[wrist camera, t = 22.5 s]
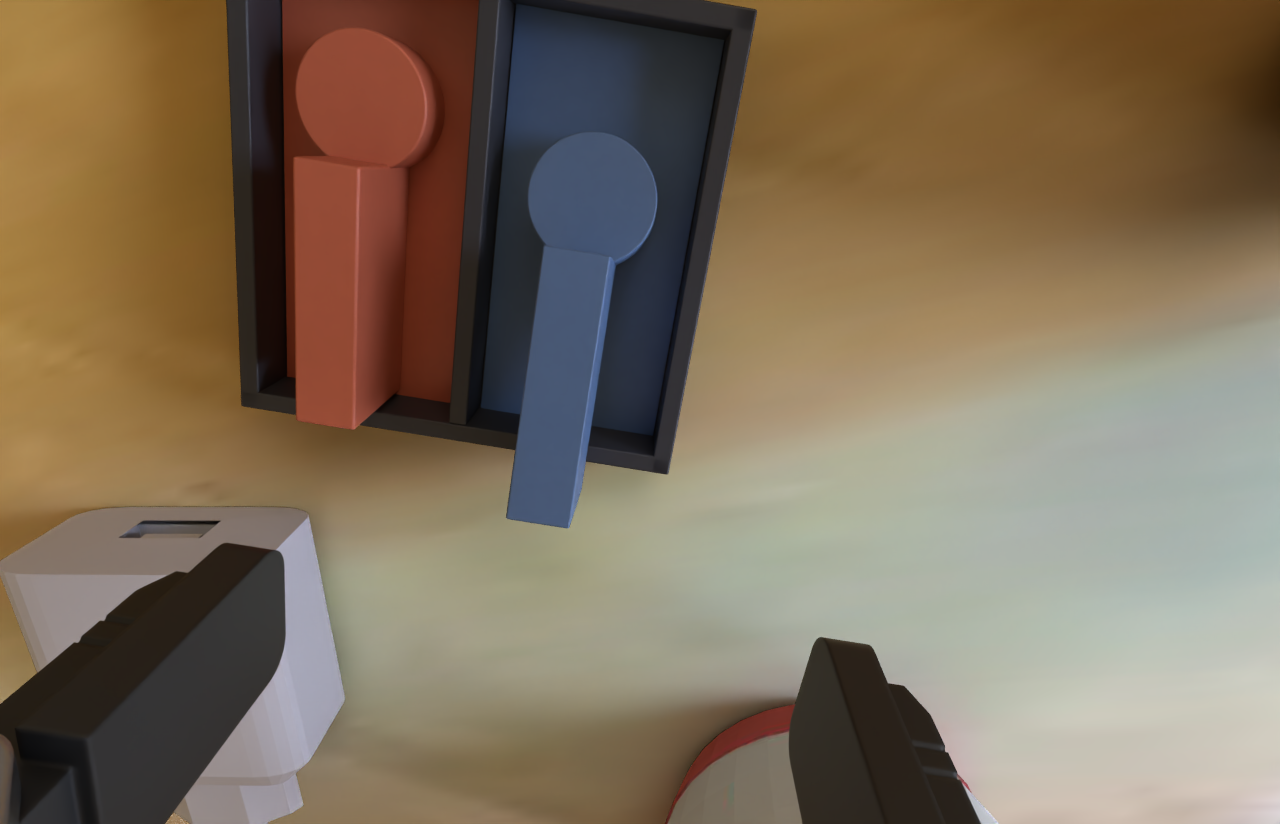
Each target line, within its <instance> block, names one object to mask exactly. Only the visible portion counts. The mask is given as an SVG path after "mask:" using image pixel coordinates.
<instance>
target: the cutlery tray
mask: <svg viewBox="0 0 1280 824" xmlns="http://www.w3.org/2000/svg"><path fill="white" fill-rule="evenodd" d="M226 6H227V33H228V59H229V86H230V112H231V138H232V165H233V191H234V218H235V244H236V271H237V297H238V324H239V350H240V376H241V405H242V406H244V407H251V408H257V409H263V410H269V411H276V412H282V413H288V414H294V415H296V377H295V288H294V199H293V158H294V157H296V156H327V155H326V154H325V153H323V152H322V151H321V150H320V149H319V148H318V147H317V145H316V144H315V143H314V142H313V140H312V139H311V138H310V136H309V135H308V133H307V131H306V129H305V128H304V126H303V123H302V121H301V119H300V115H299V112H298V109H297V103H296V95H295V85H296V77H297V72H298V69H299V65H300V63H301V61H302V59H303V56H304V55H305V53H306V52H307V50H308V49H309V48H310V47H311V45H312V44H313V43H314V42H315V41H316V40H318V39H319V38H320V37H321V36H323V35H325V34H327V33H328V32H331V31H334V30H336V29H340V28H345V27H359V28H366V29H370V30H373V31H376V32H378V33H381V34H383V35H385V36H388V37H390V38H393V39H395V40H397V41H400V42H402V43H404V44H406V45H407V46H409V47H411V48H412V49H413V50H415V51H416V52H417V53H418V54H419V55H420V56H421V57H422V58H423V59H424V60H425V61H426V62H427V63H428V65H429V66H430V67H431V69H432V70H433V72H434V74H435V76H436V78H437V80H438V82H439V85H440V87H441V90H442V94H443V98H444V107H445V117H444V125H443V129H442V133H441V135H440V138H439V140H438V142H437V144H436V146H435V147H434V149H433V150H432V151H431V152H430V154H429V155H428V156H427V157H426V158H425V159H423V160H422V161H420V162H419V163H417V164H416V165H414V166H412V167H409V168H410V171H409V195H408V218H407V241H406V264H405V288H404V311H403V334H402V357H401V381H400V389H399V390H398V391H397V392H396V393H395V394H394V395H393V396H392V397H390V398H389V399H388V400H387V401H386V402H385V403H384V404H382V405H381V406H380V407H379V408H378V409H377V410H376V411H375V412H373V413H372V414H371V415H370V416H369V417H368V418H367V419H366V420H364V421H363V422H362V423H361V424H360V425H363V426H369V427H375V428H381V429H387V430H394V431H400V432H406V433H412V434H419V435H425V436H431V437H437V438H443V439H450V440H456V441H462V442H468V443H475V444H481V445H487V446H493V447H499V448H506V449H512V450H515V449H516V442H517V434H518V427H519V420H520V412H521V405H522V398H523V390H524V383H525V376H526V369H527V361H528V354H529V347H530V339H531V332H532V325H533V318H534V310H535V303H536V296H537V288H538V281H539V274H540V267H541V259H542V252H543V246H544V245H545V244H544V243H543V242H542V241H541V239H540V238H539V236H538V235H537V233H536V232H535V229H534V227H533V225H532V223H531V220H530V217H529V212H528V207H527V189H528V184H529V179H530V176H531V173H532V171H533V169H534V167H535V165H536V163H537V162H538V160H539V158H540V157H541V156H542V155H543V153H544V152H545V151H546V150H547V149H548V148H549V147H550V146H552V145H553V144H554V143H556V142H557V141H559V140H560V139H562V138H564V137H566V136H569V135H572V134H575V133H579V132H585V131H597V132H604V133H608V134H612V135H614V136H617V137H619V138H621V139H623V140H625V141H626V142H628V143H629V144H630V145H632V146H633V147H634V148H635V149H636V150H637V151H638V152H639V153H640V154H641V155H642V156H643V158H644V159H645V160H646V162H647V164H648V165H649V167H650V169H651V171H652V174H653V176H654V180H655V183H656V189H657V211H656V217H655V222H654V226H653V228H652V231H651V233H650V235H649V237H648V239H647V241H646V242H645V243H644V245H643V246H642V247H641V248H640V250H639V251H638V252H637V253H635V254H634V255H633V256H632V257H631V258H629V259H627V260H626V261H624V262H622V263H620V264H618V265H616V268H615V275H614V281H613V288H612V294H611V301H610V307H609V314H608V320H607V327H606V333H605V340H604V346H603V353H602V359H601V366H600V372H599V379H598V385H597V391H596V398H595V404H594V411H593V417H592V424H591V430H590V437H589V443H588V450H587V456H586V462H593V463H599V464H605V465H611V466H618V467H624V468H630V469H636V470H642V471H649V472H654V473H661V474H668V472H669V467H670V462H671V457H672V452H673V446H674V441H675V436H676V431H677V426H678V420H679V415H680V410H681V405H682V400H683V394H684V389H685V384H686V379H687V374H688V368H689V363H690V358H691V353H692V348H693V342H694V337H695V332H696V327H697V322H698V316H699V311H700V306H701V301H702V296H703V290H704V285H705V280H706V275H707V270H708V264H709V259H710V254H711V249H712V244H713V238H714V233H715V228H716V223H717V218H718V212H719V207H720V202H721V197H722V192H723V186H724V181H725V176H726V171H727V166H728V160H729V155H730V150H731V145H732V140H733V134H734V129H735V124H736V119H737V114H738V108H739V103H740V98H741V93H742V88H743V82H744V77H745V72H746V67H747V62H748V56H749V51H750V46H751V41H752V36H753V30H754V25H755V20H756V15H757V10H756V9H751V8H745V7H740V6H733V5H728V4H722V3H716V2H711V1H705V0H226Z"/></svg>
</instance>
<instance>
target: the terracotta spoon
mask: <svg viewBox="0 0 1280 824" xmlns="http://www.w3.org/2000/svg"><path fill="white" fill-rule="evenodd" d="M295 95H296V103H297V109H298V112H299V115H300V119H301V121H302V123H303V126H304V128H305V129H306V131H307V133H308V135H309V136H310V138H311V139H312V140H313V142H314V143H315V144H316V145H317V147H318V148H319V149H320V150H321V151H322V152H323V153H325V154H326V155H327V156H296V157H294V158H293V199H294V288H295V377H296V420H297V421H301V422H307V423H313V424H320V425H326V426H332V427H339V428H345V429H351V430H353V429H355V428H357V427H358V426H359V425H360V424H361V423H362V422H363V421H364V420H366V419H367V418H368V417H369V416H370V415H371V414H372V413H373V412H375V411H376V410H377V409H378V408H379V407H380V406H381V405H382V404H384V403H385V402H386V401H387V400H388V399H389V398H390V397H392V396H393V395H394V394H395V393H396V392H397V391H398V390H399V389H400V381H401V357H402V334H403V311H404V288H405V264H406V241H407V218H408V195H409V171H410V168H409V167H412V166H414V165H416V164H417V163H419V162H420V161H422V160H423V159H425V158H426V157H427V156H428V155H429V154H430V152H431V151H432V150H433V149H434V147H435V146H436V144H437V142H438V140H439V138H440V135H441V133H442V129H443V125H444V117H445V107H444V98H443V94H442V90H441V87H440V85H439V82H438V80H437V78H436V76H435V74H434V72H433V70H432V69H431V67H430V66H429V65H428V63H427V62H426V61H425V60H424V59H423V58H422V57H421V56H420V55H419V54H418V53H417V52H416V51H415V50H413V49H412V48H411V47H409V46H407V45H406V44H404V43H402V42H400V41H397V40H395V39H393V38H390V37H388V36H385V35H383V34H381V33H378V32H376V31H373V30H370V29H366V28H359V27H345V28H340V29H336V30H334V31H331V32H328V33H327V34H325V35H323V36H321V37H320V38H319V39H318V40H316V41H315V42H314V43H313V44H312V45H311V47H310V48H309V49H308V50H307V52H306V53H305V55H304V56H303V59H302V61H301V63H300V65H299V69H298V72H297V77H296V85H295Z"/></svg>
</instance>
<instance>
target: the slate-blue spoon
mask: <svg viewBox="0 0 1280 824" xmlns="http://www.w3.org/2000/svg"><path fill="white" fill-rule="evenodd" d="M527 207H528V212H529V217H530V220H531V223H532V225H533V227H534V229H535V232H536V233H537V235H538V236H539V238H540V239H541V241H542V242H543V243H544V244H545V245H544V246H543V252H542V259H541V267H540V274H539V281H538V288H537V296H536V303H535V310H534V318H533V325H532V332H531V339H530V347H529V354H528V361H527V369H526V376H525V383H524V390H523V398H522V405H521V412H520V420H519V427H518V434H517V442H516V449H515V456H514V463H513V471H512V478H511V485H510V493H509V500H508V507H507V514H506V518H507V519H511V520H517V521H524V522H530V523H537V524H543V525H549V526H556V527H562V528H569V527H570V524H571V521H572V518H573V514H574V511H575V508H576V505H577V502H578V499H579V495H580V492H581V489H582V482H583V476H584V469H585V463H586V456H587V450H588V443H589V437H590V430H591V424H592V417H593V411H594V404H595V398H596V391H597V385H598V379H599V372H600V366H601V359H602V353H603V346H604V340H605V333H606V327H607V320H608V314H609V307H610V301H611V294H612V288H613V281H614V275H615V268H616V265H618V264H620V263H622V262H624V261H626V260H627V259H629V258H631V257H632V256H633V255H634V254H635V253H637V252H638V251H639V250H640V248H641V247H642V246H643V245H644V243H645V242H646V241H647V239H648V237H649V235H650V233H651V231H652V228H653V226H654V222H655V217H656V211H657V189H656V183H655V180H654V176H653V174H652V171H651V169H650V167H649V165H648V164H647V162H646V160H645V159H644V158H643V156H642V155H641V154H640V153H639V152H638V151H637V150H636V149H635V148H634V147H633V146H632V145H630V144H629V143H628V142H626V141H625V140H623V139H621V138H619V137H617V136H614V135H612V134H608V133H604V132H597V131H585V132H579V133H575V134H572V135H569V136H566V137H564V138H562V139H560V140H559V141H557V142H556V143H554V144H553V145H552V146H550V147H549V148H548V149H547V150H546V151H545V152H544V153H543V155H542V156H541V157H540V158H539V160H538V162H537V163H536V165H535V167H534V169H533V171H532V173H531V176H530V179H529V184H528V189H527Z"/></svg>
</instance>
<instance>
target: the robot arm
mask: <svg viewBox="0 0 1280 824" xmlns="http://www.w3.org/2000/svg"><path fill="white" fill-rule="evenodd" d="M285 639H286V617H285V567H284V559H283V556H282V554H281V553H280V552H279V551H278V550H271V549H265V548H259V547H252V546H246V545H239V544H233V543H223V544H221V545H219V546H218V547H216V548H215V549H214V550H213V551H212V552H211V553H210V554H208V555H207V556H206V557H205V558H204V559H203V560H202V561H201V562H199V563H198V564H197V565H196V566H195V567H194V568H193V569H192V570H191V571H189V572H188V573H186V572H180V571H175V572H173V573H171V574H169V575H167V576H165V577H163V578H161V579H159V580H157V581H154V582H152V583H150V584H148V585H146V586H144V587H142V588H140V589H138V590H136V591H135V592H133V593H132V594H131V595H130V596H129V597H128V598H126V599H125V600H124V601H123V602H122V603H120V604H119V605H118V606H117V607H116V608H114V609H113V610H112V611H111V612H110V613H108V614H107V615H106V619H105V620H104V621H99V622H98V623H97V624H95V625H94V626H93V627H92V628H91V629H89V630H88V631H87V632H86V633H85V634H83V635H82V636H81V639H80V641H79V642H78V643H76V642H74V643H73V644H71V645H70V646H69V647H68V648H67V649H66V650H64V651H63V652H62V653H61V654H60V655H58V656H57V657H56V658H55V659H54V660H52V661H51V662H50V663H49V664H48V665H46V666H45V667H44V668H43V669H42V670H40V671H39V672H38V673H37V674H36V675H34V676H33V677H32V678H31V679H30V680H29V681H27V682H26V683H25V684H24V685H23V686H21V687H20V688H19V689H18V690H17V691H15V692H14V693H13V694H12V695H11V696H9V697H8V698H7V699H6V700H5V701H3V702H2V703H1V704H0V824H165V823H166V821H167V820H168V819H169V817H170V816H171V815H172V813H173V812H174V811H175V809H176V808H177V807H178V805H179V804H180V802H181V801H182V800H183V798H184V797H185V796H186V794H187V793H188V792H189V790H190V789H191V788H192V786H193V785H194V784H195V782H196V781H197V779H198V778H199V777H200V775H201V774H202V773H203V771H204V770H205V769H206V767H207V766H208V765H209V763H210V762H211V761H212V759H213V758H214V756H215V755H216V754H217V752H218V751H219V750H220V748H221V747H222V746H223V744H224V743H225V742H226V740H227V739H228V738H229V736H230V735H231V733H232V732H233V731H234V729H235V728H236V727H237V725H238V724H239V723H240V721H241V720H242V719H243V717H244V716H245V715H246V713H247V712H248V710H249V709H250V708H251V706H252V705H253V704H254V702H255V701H256V700H257V698H258V697H259V696H260V694H261V693H262V692H263V690H264V689H265V687H266V686H267V685H268V683H269V682H270V681H271V679H272V678H273V676H274V674H275V672H276V670H277V668H278V666H279V663H280V661H281V658H282V654H283V651H284V646H285ZM789 759H790V765H791V770H792V774H793V779H794V784H795V789H796V794H797V799H798V804H799V809H800V814H801V819H802V824H981V822H980V820H979V818H978V816H977V814H976V812H975V810H974V807H973V805H972V803H971V801H970V799H969V797H968V794H967V792H966V790H965V788H964V786H963V784H962V782H961V780H959V779H957V771H956V769H955V767H954V764H953V762H952V760H951V758H950V756H949V754H948V753H947V752H945V745H944V743H943V741H942V739H941V737H940V734H939V732H938V730H937V728H936V726H935V724H934V722H933V719H932V717H931V715H930V714H929V713H928V712H927V711H926V709H925V708H924V707H923V706H922V705H921V704H920V703H919V702H918V701H917V700H916V699H915V697H914V696H913V695H912V694H911V693H910V692H909V691H908V690H907V689H906V688H905V686H901V685H895V684H888V683H887V680H886V678H885V676H884V673H883V671H882V668H881V666H880V664H879V661H878V659H877V656H876V654H875V652H874V650H873V648H872V647H871V646H870V645H867V644H861V643H854V642H848V641H842V640H835V639H829V638H822V637H820V638H818V639H817V640H816V641H815V643H814V645H813V648H812V651H811V654H810V657H809V660H808V664H807V667H806V670H805V674H804V677H803V680H802V683H801V687H800V690H799V693H798V696H797V700H796V703H795V706H794V710H793V713H792V717H791V721H790V728H789Z"/></svg>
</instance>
